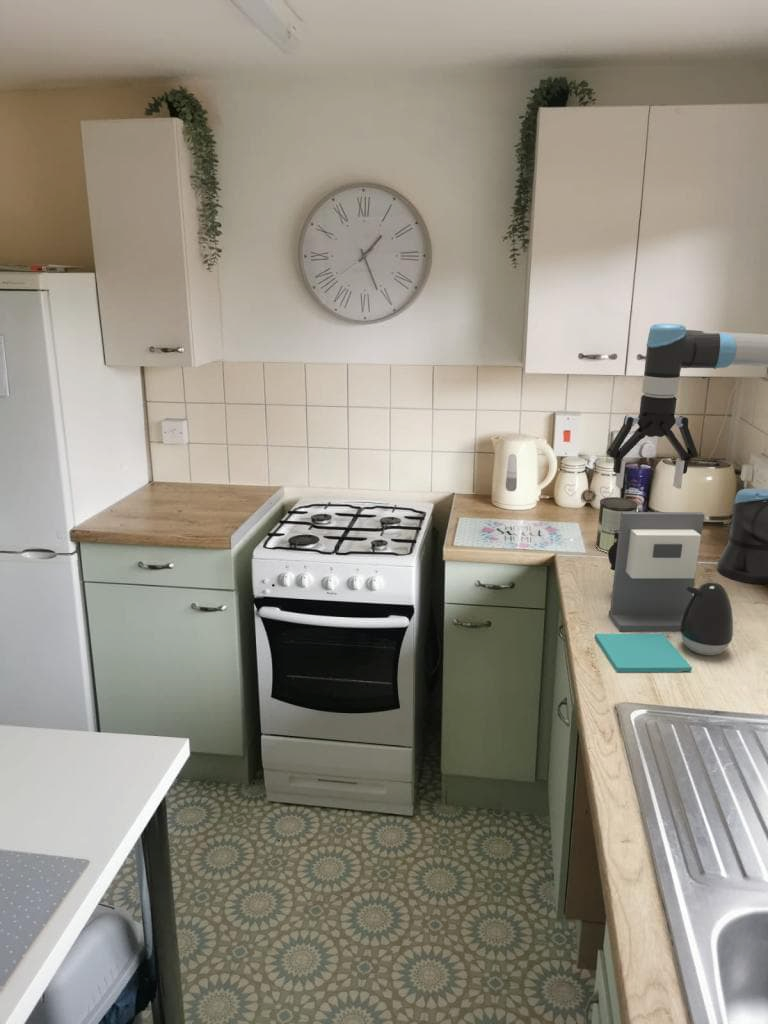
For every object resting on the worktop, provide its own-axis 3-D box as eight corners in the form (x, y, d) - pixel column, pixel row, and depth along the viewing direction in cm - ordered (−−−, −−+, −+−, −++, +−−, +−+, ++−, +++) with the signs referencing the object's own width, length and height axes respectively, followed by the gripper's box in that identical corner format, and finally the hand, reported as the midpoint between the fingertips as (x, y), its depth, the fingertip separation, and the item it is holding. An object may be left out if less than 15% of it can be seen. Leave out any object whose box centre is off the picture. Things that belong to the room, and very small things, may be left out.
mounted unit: (684, 616, 177) (700, 511, 170) (699, 631, 170) (716, 522, 162) (608, 616, 177) (620, 511, 169) (619, 631, 169) (632, 522, 161)
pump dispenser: (670, 638, 166) (679, 573, 162) (718, 639, 166) (728, 574, 162) (686, 660, 157) (696, 592, 152) (737, 662, 156) (749, 593, 152)
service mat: (662, 637, 166) (663, 633, 166) (691, 672, 152) (691, 667, 152) (594, 637, 166) (595, 633, 166) (616, 672, 152) (617, 667, 151)
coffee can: (588, 544, 224) (593, 498, 219) (618, 541, 227) (623, 495, 223) (608, 556, 214) (614, 508, 210) (639, 553, 217) (645, 505, 213)
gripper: (706, 393, 174) (694, 482, 180) (598, 392, 173) (589, 482, 180) (721, 398, 167) (708, 491, 173) (609, 397, 166) (599, 491, 172)
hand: (647, 487), depth 176 cm, fingers open, 13 cm apart
